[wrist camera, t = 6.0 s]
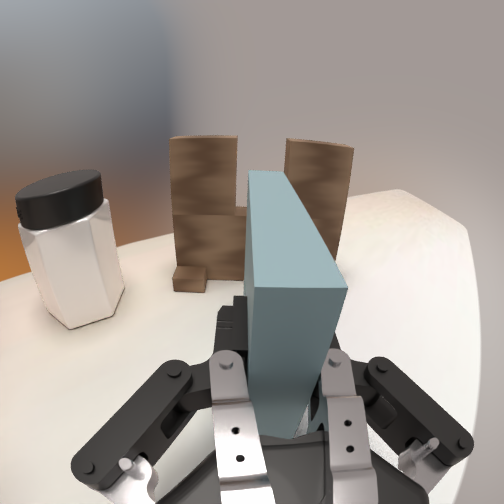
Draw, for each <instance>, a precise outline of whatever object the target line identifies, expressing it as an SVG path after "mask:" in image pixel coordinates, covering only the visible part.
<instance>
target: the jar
mask: <svg viewBox="0 0 504 504" xmlns="http://www.w3.org/2000/svg"><path fill="white" fill-rule="evenodd" d="M15 200H16V205H17V207H16V209H17V214H18V217H19V218H20V223H19V225H18V228H19V232H20V236H21V239H22V243H23V246H24V249H25V253H26V256H27V259H28V262H29V265H30V268H31V271H32V274H33V276H34V279H35V282H36V284H37V287H38V289H39V292H40V294H41V297H42V299H43V302H44V304H45V306H46V309H47V311H48V312H49V313H51V314H52V315H53V316H54V317H55V318H56V319H58V320H59V321H60V322H61V323H62V324H64V325H65V326H66V327H67V328H68V329H73V328H76V327H79V326H82V325H86V324H89V323H92V322H95V321H98V320H101V319H104V318H107V317H110V316H112V315H113V314H114V311H115V309H116V306H117V304H118V301H119V299H120V296H121V294H122V292H123V289H124V287H125V285H124V281H123V277H122V273H121V268H120V264H119V259H118V254H117V249H116V244H115V238H114V233H113V227H112V221H111V215H110V208H109V201H108V200H107V199H104V197H103V190H102V181H101V173H100V172H99V171H97V170H79V171H72V172H67V173H62V174H58V175H55V176H51V177H48V178H45V179H42V180H39V181H37V182H35V183H32V184H30V185H28V186H26V187H25V188H23V189H21V190H20V191H19V192H18V193H17V194H16V196H15Z"/></svg>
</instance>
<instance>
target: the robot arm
mask: <svg viewBox="0 0 504 504" xmlns="http://www.w3.org/2000/svg"><path fill="white" fill-rule="evenodd" d="M247 362H248V308H247V296H234V300H233V306H222V307H221V309H220V310H219V311H218V315H217V324H216V333H215V343H214V351H213V354H212V356H211V357H210V358H209V359H208V360H207V361H205V362H204V363H201V364H197V365H192V366H189V365H188V364H187V363H185V362H184V361H181V360H169V361H167V362H165V363H163V364H162V365H161V366H160V367H159V368H158V369H157V370H156V371H155V372H154V373H153V374H152V375H151V377H150V378H149V379H148V380H147V381H146V382H145V383H144V384H143V385H142V386H141V387H140V388H139V389H138V390H137V391H136V392H135V393H134V394H133V395H132V396H131V398H130V399H129V400H128V401H127V402H126V403H125V404H124V405H123V406H122V407H121V408H120V409H119V410H118V411H117V412H116V413H115V414H114V415H113V416H112V417H111V418H110V419H109V420H108V421H107V423H106V424H105V425H104V426H103V427H102V428H101V429H100V430H99V431H98V432H97V433H96V434H95V435H94V436H93V437H92V438H91V439H90V440H89V441H88V442H87V443H86V444H85V445H84V446H83V447H82V448H81V449H80V450H79V451H78V452H77V453H76V454H75V455H74V457H73V458H72V461H71V470H72V473H73V475H74V476H75V478H76V479H77V480H79V481H80V482H82V483H84V484H85V485H87V486H88V487H89V488H91V489H93V490H95V491H97V492H99V493H101V494H103V495H104V496H105V497H106V498H107V499H109V500H110V501H111V502H112V503H114V504H429V497H428V493H429V492H430V491H431V490H432V489H433V488H434V487H435V486H436V484H437V483H438V482H439V481H440V480H441V479H442V477H443V476H444V475H445V474H446V473H447V471H448V470H449V469H450V468H451V467H452V466H454V465H455V464H457V463H458V462H460V461H461V460H463V459H464V458H466V457H467V456H468V455H470V453H471V452H472V450H473V447H474V441H473V438H472V436H471V434H470V433H469V432H468V431H467V430H465V429H464V428H463V427H462V426H461V425H460V424H459V423H458V422H457V421H456V420H455V419H454V418H453V417H452V416H450V415H449V414H448V413H447V412H446V411H445V410H444V409H443V408H442V407H441V406H440V405H439V404H437V403H436V402H435V401H434V400H433V399H432V398H431V397H430V396H429V395H428V394H427V393H426V392H424V391H423V390H422V389H421V388H420V387H419V386H418V385H417V384H416V383H415V382H413V381H412V380H411V379H410V378H409V377H408V376H407V375H406V374H405V373H404V372H403V371H401V370H400V369H399V368H398V367H397V366H396V365H395V364H394V363H393V362H391V361H390V360H389V359H387V358H385V357H374V358H372V359H371V360H370V361H369V363H364V362H358V361H354V360H351V359H350V358H349V356H348V355H347V354H346V353H345V352H344V351H342V350H341V349H340V346H339V343H338V340H337V337H336V334H335V332H334V335H333V338H332V341H331V344H330V347H329V350H328V353H327V356H326V359H325V361H324V364H323V367H322V370H321V372H320V375H319V377H318V380H317V383H316V385H315V388H314V390H313V393H312V395H311V398H310V400H309V402H308V429H307V434H306V435H303V436H300V437H297V438H293V439H285V438H279V437H273V436H268V435H259V434H258V429H257V424H256V419H255V413H254V408H253V404H252V400H251V399H250V398H249V393H248V387H247V382H246V380H247ZM209 407H212V414H213V426H214V436H215V446H216V449H215V450H214V451H213V452H211V453H210V454H209V455H208V456H207V457H206V458H205V459H204V460H203V461H202V462H201V463H200V464H199V465H198V466H197V467H196V468H195V469H194V470H193V471H192V472H191V473H190V474H189V475H187V476H186V477H185V478H184V479H183V480H182V481H181V482H180V483H179V484H178V485H176V486H175V487H174V488H173V489H172V490H171V491H170V492H169V493H167V494H166V495H165V496H164V497H163V498H162V499H160V500H159V501H158V502H157V501H156V499H155V497H154V490H155V487H156V486H157V484H158V474H157V472H156V470H155V469H154V468H153V466H154V465H155V464H156V462H157V461H158V460H159V459H160V458H161V456H162V455H163V454H164V453H165V451H166V450H167V449H168V448H169V446H170V445H171V444H172V443H173V441H174V440H175V439H176V437H177V436H178V435H179V434H180V432H181V431H182V430H183V428H184V427H185V426H186V425H187V423H188V422H189V421H190V419H191V418H192V417H193V415H194V414H195V413H196V411H197V410H200V409H205V408H209ZM367 423H368V425H369V426H370V427H371V428H372V429H373V430H374V431H375V432H376V433H377V434H378V435H379V436H380V437H381V438H382V439H383V440H384V441H385V442H386V444H387V445H388V446H389V447H390V448H391V449H392V450H393V451H394V452H395V453H396V454H397V455H398V456H399V458H398V469H399V470H400V471H399V470H398V469H397V468H395V467H394V466H392V465H391V464H390V463H388V462H387V461H386V460H384V459H383V458H382V457H380V456H379V455H378V454H376V453H375V452H374V451H372V450H371V449H370V445H369V437H368V430H367ZM401 471H403V473H402V472H401Z"/></svg>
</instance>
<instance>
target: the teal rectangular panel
mask: <svg viewBox="0 0 504 504" xmlns="http://www.w3.org/2000/svg"><path fill="white" fill-rule="evenodd" d="M248 172H249V173H248V195H247V219H246V244H245V271H244V296H247V308H248V362H247V380H246V382H247V387H248V393H249V398H250V399H251V400H252V404H253V408H254V413H255V419H256V424H257V429H258V434H259V435H268V436H273V437H279V438H285V439H293V436H294V434H295V432H296V430H297V428H298V426H299V423H300V421H301V419H302V417H303V414H304V412H305V410H306V407H307V405H308V402H309V400H310V398H311V395H312V393H313V390H314V388H315V385H316V383H317V380H318V377H319V375H320V372H321V370H322V367H323V364H324V361H325V359H326V356H327V353H328V350H329V347H330V344H331V341H332V338H333V335H334V332H335V329H336V326H337V323H338V320H339V317H340V314H341V310H342V307H343V304H344V300H345V297H346V293H347V290H348V286H347V284H346V282H345V280H344V278H343V277H342V275H341V273H340V271H339V269H338V267H337V265H336V263H335V261H334V259H333V257H332V256H331V254H330V252H329V250H328V248H327V246H326V244H325V243H324V241H323V239H322V237H321V235H320V234H319V232H318V230H317V228H316V226H315V225H314V223H313V221H312V219H311V218H310V216H309V214H308V212H307V211H306V209H305V207H304V206H303V204H302V202H301V200H300V199H299V197H298V195H297V194H296V192H295V190H294V189H293V187H292V185H291V184H290V182H289V180H288V179H287V177H286V176H285V174H284V172H277V171H256V170H249V171H248Z"/></svg>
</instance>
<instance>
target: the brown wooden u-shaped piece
mask: <svg viewBox="0 0 504 504" xmlns="http://www.w3.org/2000/svg"><path fill="white" fill-rule="evenodd" d="M237 137H238V136H222V135H221V136H219V135H218V136H217V135H215V136H213V135H212V136H211V135H210V136H176V137H173V138H171V139H169V150H170V152H169V153H170V180H171V199H172V215H173V228H174V240H175V250H176V260H177V267H176V270H175V273H174V275H173V278H172V280H173V287H174V291H182V292H204V291H205V286H206V281H207V279H211V280H244V271H245V244H246V219H247V207H236V168H237ZM285 153H286V154H285V167H284V174H285V176H286V177H287V179H288V180H289V182H290V184H291V185H292V187H293V189H294V190H295V192H296V194H297V195H298V197H299V199H300V200H301V202H302V204H303V206H304V207H305V209H306V211H307V212H308V214H309V216H310V218H311V219H312V221H313V223H314V225H315V226H316V228H317V230H318V232H319V234H320V235H321V237H322V239H323V241H324V243H325V244H326V246H327V248H328V250H329V252H330V254H331V256H332V257H333V259H334V261H335V260H336V255H337V251H338V246H339V241H340V236H341V230H342V225H343V219H344V214H345V208H346V202H347V195H348V189H349V183H350V176H351V168H352V160H353V153H354V148H352V147H350V146H347V145H344V144H337V143H329V142H321V141H312V140H302V139H290V138H287V139H286V152H285Z"/></svg>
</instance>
